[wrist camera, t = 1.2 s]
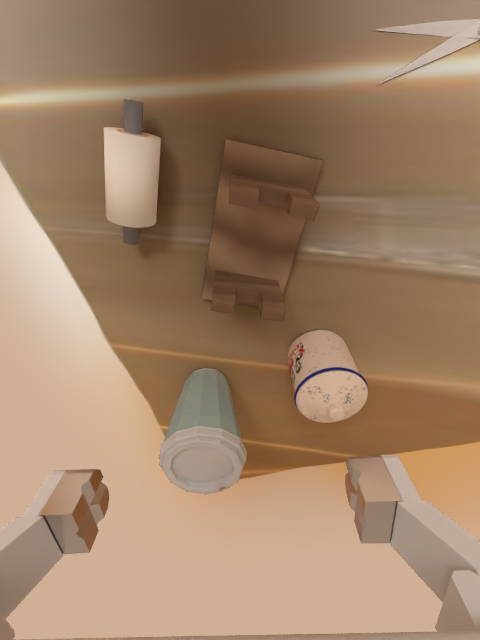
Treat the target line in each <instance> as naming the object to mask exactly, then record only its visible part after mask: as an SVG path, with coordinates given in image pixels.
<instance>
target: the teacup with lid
mask: <svg viewBox="0 0 480 640" xmlns="http://www.w3.org/2000/svg"><path fill="white" fill-rule="evenodd" d="M287 359H288V364H289V369H290V373H291V378H292V382H293V387H294V392H295V396H294V400H295V404H296V407H297V408H298V410H299V411H300V412H301V413H302V414H303V415H304V416H305V417H307V418H308V419H311V420H313V421H316V422H323V423H331V422H337V421H341V420H344V419H347V418H349V417H351V416H353V415H354V414H356V413H357V412H358V411H359V410H360V409H361V408H362V407H363V405H364V404H365V402H366V400H367V396H368V386H367V383H366V381H365V379H364V378H363V377H362V376H361V375H360V373H359V371H358V369H357V366H356V364H355V362H354V360H353V358H352V356H351V354H350V352H349V350H348V347H347V345H346V343H345V341H344V340H343V339H342V338H341V337H340V336H339V335H338V334H336V333H334V332H331V331H327V330H315V331H310V332H307V333H305V334H303V335H301V336H300V337H298V338H297V339H296V340H295V341H294V342H293V343H292V344H291V346H290V348H289V350H288V355H287Z"/></svg>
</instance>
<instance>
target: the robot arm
mask: <svg viewBox="0 0 480 640" xmlns="http://www.w3.org/2000/svg"><path fill="white" fill-rule="evenodd" d="M346 466H347V469H348V473H347V474H346V479H345V484H346V493H347V497H348V501H349V505H350V507H351V508H352V509H353V510H354V511H355V520H354V521H355V525H356V528H357V531H358V534H359V538H360V541H361V543H391V546H392V547H393V548H394V549H395V550H396V551H397V552H398V554H399V555H400V556H401V557H402V558H403V559H404V560H405V561H406V562H407V563H408V565H409V566H410V567H411V568H412V569H413V570H414V571H415V572H416V573H417V574H418V576H419V577H420V578H421V579H422V580H423V581H424V582H425V583H426V584H427V586H428V587H429V588H430V589H431V590H432V591H433V592H434V593H435V594H436V595H437V597H438V598H439V599H440V600H441V601H442V602H443V605H442V608H441V611H440V614H439V617H438V621H437V624H436V627H435V628H436V630H437V632H405V633H403V632H401V633H347V634H294V635H239V636H237V635H235V636H184V637H182V636H181V637H132V638H130V637H129V638H78V639H77V638H76V639H23V640H480V541H479V540H478V539H477V538H475V537H474V536H473V535H471V534H470V533H469V532H467V531H466V530H465V529H464V528H462V527H461V526H460V525H458V524H456V522H454V521H453V520H452V519H450V518H449V517H448V516H447V515H445V514H444V513H443V512H441V511H440V510H439V509H437V508H436V507H435V506H433V505H432V504H431V503H430V502H428V501H422V500H421V498H420V496H419V494H418V492H417V490H416V488H415V486H414V485H413V483H412V481H411V479H410V477H409V475H408V473H407V471H406V470H405V468H404V466H403V464H402V462H401V460H400V458H399V457H398V456H397V455H396V454H390V455H368V456H352V457H348V458H347V462H346ZM102 478H103V475H102V473H101V471H100V470H98V469H91V470H55V471H53V472H52V473H50V474H49V475H48V477H47V478H46V480H45V482H44V483H43V485H42V486H41V488H40V489H39V491H38V492H37V494H36V495H35V497H34V499H33V500H32V502H31V503H30V505H29V506H28V508H27V509H26V511H25V513H24V514H23V516H22V517H17V518H15V519H14V520H13V521H11V522H10V523H9V524H8V525H6V526H5V527H4V528H2V529H1V530H0V640H13V639H14V637H15V633H14V630H13V629H12V627H11V626H10V624H9V623H8V622H7V620H6V618H7V617H8V616H9V615H10V613H11V612H12V611H13V610H14V609H15V608H16V607H17V606H18V605H19V604H20V602H21V601H22V600H23V599H24V598H25V597H26V596H27V595H28V593H29V592H30V591H31V590H32V589H33V588H34V587H35V586H36V585H37V584H38V583H39V582H40V581H41V579H42V578H43V577H44V576H45V575H46V574H47V573H48V572H49V571H50V570H51V568H52V567H53V566H54V565H55V564H56V563H57V562H58V561H59V560H60V559H61V558H62V556H63V554H73V553H88V552H90V550H91V548H92V545H93V543H94V540H95V538H96V536H97V533H98V527H97V523H98V522H99V521H100V520H101V519H103V518H104V516H105V514H106V511H107V508H108V501H109V492H108V488H107V486H106V485H104V484H103V483H102V482H101V480H102Z"/></svg>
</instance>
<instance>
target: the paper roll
mask: <svg viewBox="0 0 480 640" xmlns="http://www.w3.org/2000/svg"><path fill="white" fill-rule="evenodd" d="M142 122H143V103H140V102H136V101H132V100H126V99H124V129H123V128H115V127H104V159H105V198H106V218H107V220H109V221H110V222H112V223H114V224H117V225H121V226H124V242H125V243H127V244H132V245H134V244H138V243H139V228H143V227H150V226H153V225H155V224H156V216H157V198H158V181H159V163H160V146H161V138H160V137H158V136H155V135H152V134H148V133H144V132H142Z"/></svg>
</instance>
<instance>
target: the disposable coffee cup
mask: <svg viewBox="0 0 480 640" xmlns="http://www.w3.org/2000/svg"><path fill="white" fill-rule="evenodd" d="M246 454H247V451H246V449H245V447H244V445H243V443H242V439H241V435H240V431H239V426H238V422H237V417H236V413H235V409H234V404H233V400H232V396H231V391H230V387H229V384H228V382H227V380H226V377H225V376H224V374H222V373H221V372H219V371H217V370H216V369H210V368H202V369H199V370H195V371H194V372H193V373H192V374H191V375H189V376H188V378H187V379H186V380H185V383H184V386H183V389H182V392H181V394H180V397H179V400H178V403H177V406H176V409H175V411H174V414H173V417H172V420H171V423H170V426H169V428H168V431H167V434H166V437H165V440H164V442H163V443H162V444H161V449H160V457H159V459H160V463H159V465H160V466H161V468H162V469H163V471H164V472H165V474H166V476H167V477H168V479H169V480H170V482H171V483H173V484H175V485H177V486H178V487H180V488H182V489H184V490H185V491H188V492H194V493H200V494H211V493H215V492H220V491H223V490H225V489H227V488H229V487H230V486H232V485H233V484H235V483H236V482H238V480H239V478H240V475H241V472H242V469H243V467H244V464H245V461H246Z"/></svg>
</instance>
